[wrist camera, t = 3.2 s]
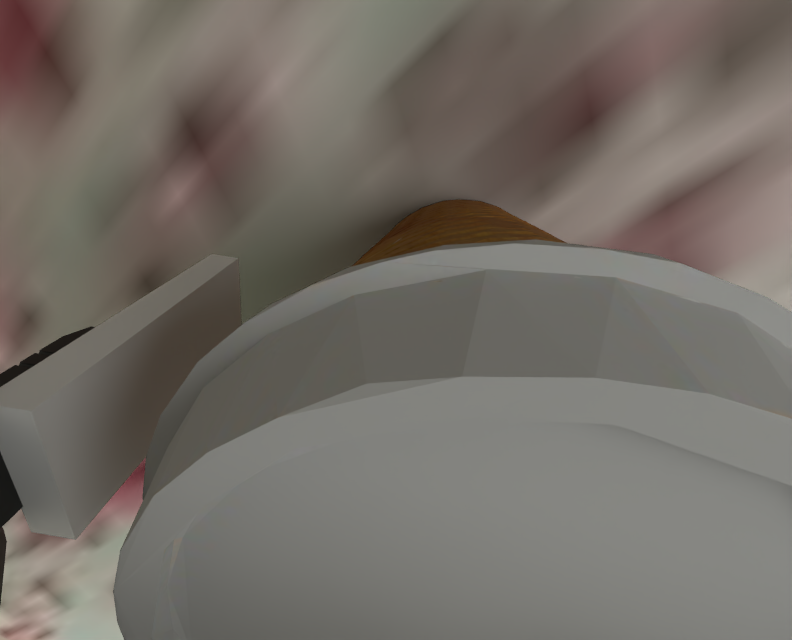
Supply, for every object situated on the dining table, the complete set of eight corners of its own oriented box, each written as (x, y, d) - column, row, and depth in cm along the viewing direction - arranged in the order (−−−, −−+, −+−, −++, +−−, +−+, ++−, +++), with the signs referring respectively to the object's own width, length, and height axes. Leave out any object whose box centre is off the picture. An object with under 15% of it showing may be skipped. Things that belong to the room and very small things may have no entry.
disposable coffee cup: (340, 388, 18) (192, 804, 7) (315, 149, 14) (-146, 293, 3) (569, 396, 17) (792, 885, 6) (620, 143, 13) (1607, 322, 2)
